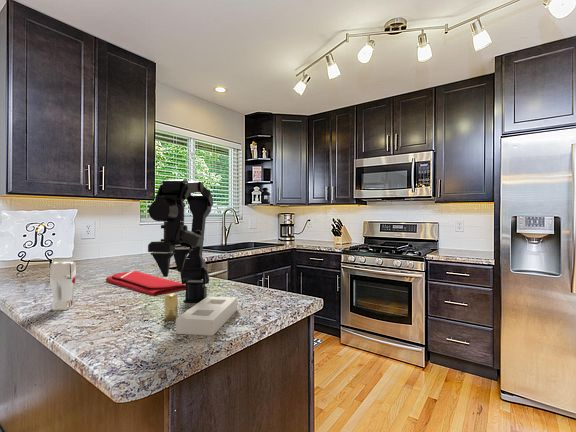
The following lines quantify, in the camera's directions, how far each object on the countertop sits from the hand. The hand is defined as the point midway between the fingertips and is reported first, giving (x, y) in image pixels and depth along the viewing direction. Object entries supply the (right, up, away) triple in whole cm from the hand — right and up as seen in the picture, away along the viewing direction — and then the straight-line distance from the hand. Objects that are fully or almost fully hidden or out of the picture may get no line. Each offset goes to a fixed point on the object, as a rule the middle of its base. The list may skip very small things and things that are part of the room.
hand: (173, 274), depth 94 cm
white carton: (-40, -13, +10) cm, 43 cm away
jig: (+11, -13, -1) cm, 17 cm away
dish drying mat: (-29, -14, +44) cm, 54 cm away
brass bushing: (-1, -13, 0) cm, 13 cm away
